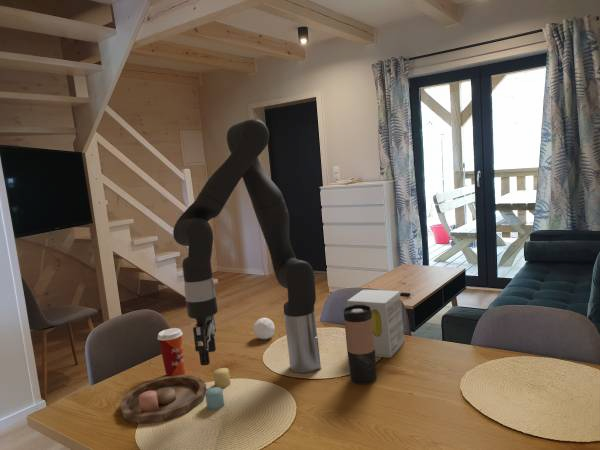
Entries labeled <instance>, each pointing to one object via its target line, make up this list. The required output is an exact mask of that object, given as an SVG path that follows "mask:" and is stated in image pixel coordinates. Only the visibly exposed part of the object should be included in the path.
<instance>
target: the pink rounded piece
mask: <svg viewBox="0 0 600 450" xmlns="http://www.w3.org/2000/svg"><path fill="white" fill-rule="evenodd" d="M139 402H140V409H141V413H148V412H157V411H159V406H158V400H157V393H156V391H146V392H144V393H142V394H140V395H139Z"/></svg>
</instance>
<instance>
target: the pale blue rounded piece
mask: <svg viewBox="0 0 600 450" xmlns="http://www.w3.org/2000/svg"><path fill="white" fill-rule="evenodd" d="M223 392H224V391H223V388H219V387H215V386H214V387H211V388H208V389H207V391H206V392H205V402H206V408H207V410H209V411H217V410H220V409H222V408H224V406H225V400H224V393H223Z"/></svg>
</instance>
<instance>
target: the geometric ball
mask: <svg viewBox="0 0 600 450" xmlns="http://www.w3.org/2000/svg"><path fill="white" fill-rule="evenodd" d="M252 330H253V334H254V335H255V337H256V338H258V339H259V340H263V341H265V340H268V339H271V338H272V337H273V335H274V333H275V323H274V322H273V321H272V319H270V318H269V317H268V318H267V317H261V318H259V319H258V320H256V321H255V322H254V325H253V328H252Z"/></svg>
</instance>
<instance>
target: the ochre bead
mask: <svg viewBox="0 0 600 450" xmlns="http://www.w3.org/2000/svg"><path fill="white" fill-rule="evenodd" d="M229 369H230V368H227V367H220V368H217V369H214V370H213V380H214V387H219V388H222V389H225V388H227V387H229V386H230V385H231V375H230V371H229Z"/></svg>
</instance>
